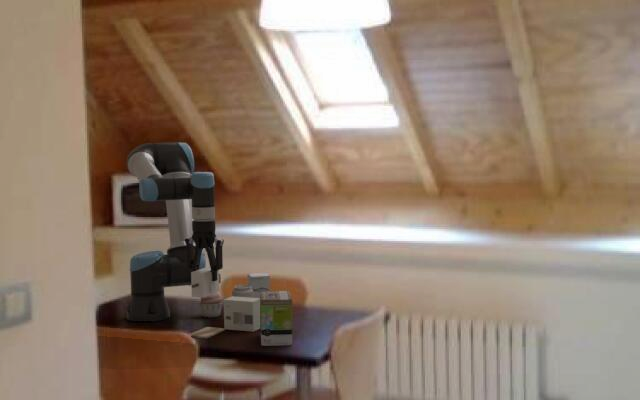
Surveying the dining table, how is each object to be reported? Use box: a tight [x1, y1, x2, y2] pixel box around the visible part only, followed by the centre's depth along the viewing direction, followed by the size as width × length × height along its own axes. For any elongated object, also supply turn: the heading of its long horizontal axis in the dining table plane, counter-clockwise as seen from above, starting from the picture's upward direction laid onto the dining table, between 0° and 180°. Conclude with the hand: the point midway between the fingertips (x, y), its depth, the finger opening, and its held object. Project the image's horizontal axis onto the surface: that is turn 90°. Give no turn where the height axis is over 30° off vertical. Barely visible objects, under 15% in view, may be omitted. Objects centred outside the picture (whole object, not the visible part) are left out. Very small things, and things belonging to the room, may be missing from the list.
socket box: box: [223, 295, 260, 333], centre depth 307 cm, size 11×6×10 cm, turn 67°
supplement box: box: [246, 272, 271, 298], centre depth 339 cm, size 7×7×13 cm
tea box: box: [259, 290, 293, 347], centre depth 290 cm, size 15×10×15 cm, turn 5°
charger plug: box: [190, 266, 222, 298], centre depth 299 cm, size 4×16×8 cm, turn 157°
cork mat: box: [189, 326, 226, 339], centre depth 301 cm, size 7×12×1 cm, turn 157°
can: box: [231, 284, 254, 298], centre depth 320 cm, size 8×8×12 cm
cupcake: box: [197, 292, 224, 319], centre depth 327 cm, size 9×9×10 cm
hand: (205, 290), depth 300 cm, fingers closed on charger plug, 4 cm apart
